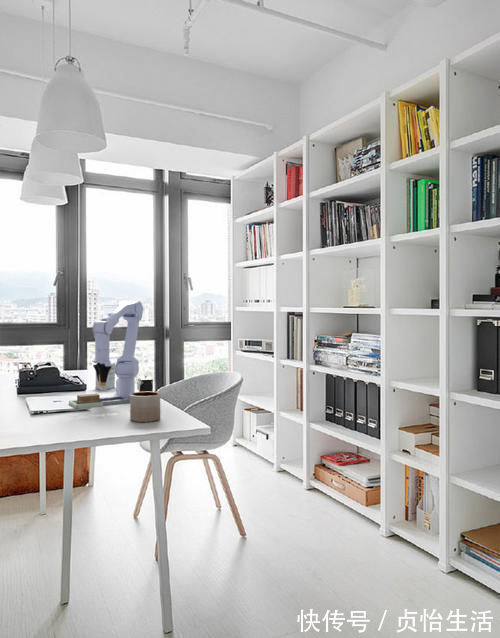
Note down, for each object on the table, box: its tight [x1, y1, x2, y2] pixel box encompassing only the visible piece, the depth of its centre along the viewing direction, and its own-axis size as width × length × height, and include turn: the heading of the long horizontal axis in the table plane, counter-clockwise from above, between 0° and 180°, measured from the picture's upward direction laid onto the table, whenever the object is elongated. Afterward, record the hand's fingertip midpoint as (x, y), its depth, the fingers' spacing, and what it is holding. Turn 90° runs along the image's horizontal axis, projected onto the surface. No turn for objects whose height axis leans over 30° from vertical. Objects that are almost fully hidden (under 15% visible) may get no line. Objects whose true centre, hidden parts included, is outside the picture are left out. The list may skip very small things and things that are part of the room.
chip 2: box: [86, 393, 101, 403], centre depth 208 cm, size 4×4×4 cm
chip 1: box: [76, 393, 90, 404], centre depth 206 cm, size 4×4×4 cm
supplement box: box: [94, 362, 116, 390], centre depth 253 cm, size 7×7×13 cm
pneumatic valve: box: [136, 375, 154, 392], centre depth 214 cm, size 6×12×12 cm, turn 20°
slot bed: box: [100, 395, 131, 407], centre depth 213 cm, size 10×12×2 cm
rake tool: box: [97, 374, 108, 391], centre depth 210 cm, size 4×3×6 cm, turn 38°
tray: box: [68, 399, 103, 409], centre depth 206 cm, size 10×11×2 cm
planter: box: [129, 391, 161, 424], centre depth 184 cm, size 11×11×10 cm
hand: (102, 381), depth 210 cm, fingers closed on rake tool, 3 cm apart
